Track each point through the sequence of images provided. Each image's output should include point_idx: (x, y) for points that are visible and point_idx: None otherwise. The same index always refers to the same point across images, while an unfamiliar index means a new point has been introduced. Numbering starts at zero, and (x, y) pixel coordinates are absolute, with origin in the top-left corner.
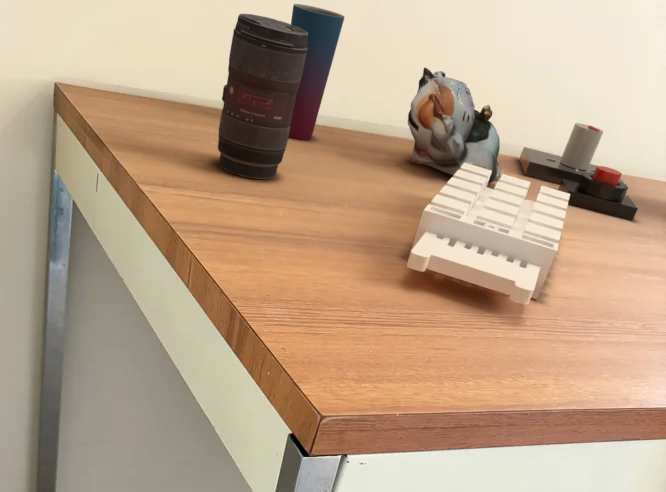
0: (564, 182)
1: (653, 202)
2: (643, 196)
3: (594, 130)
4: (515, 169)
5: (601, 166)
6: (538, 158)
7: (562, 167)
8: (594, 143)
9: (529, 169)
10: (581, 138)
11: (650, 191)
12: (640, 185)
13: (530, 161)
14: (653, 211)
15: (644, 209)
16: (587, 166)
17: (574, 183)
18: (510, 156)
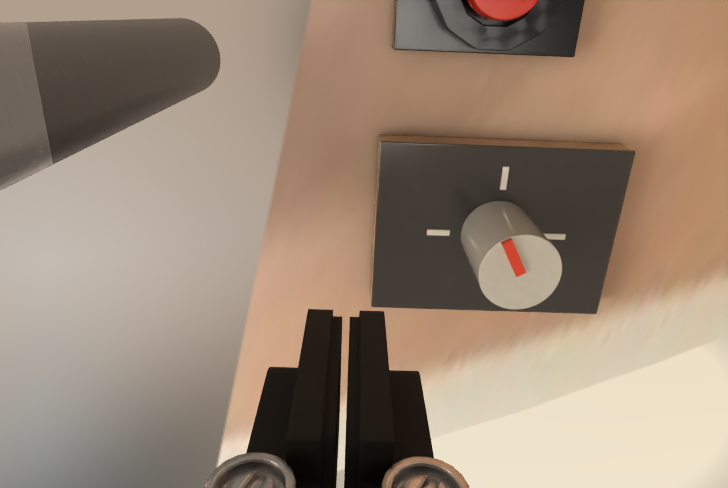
0: (581, 12)
1: (280, 203)
2: (297, 242)
3: (514, 243)
4: (629, 187)
5: (524, 6)
6: (592, 216)
7: (541, 177)
8: (493, 229)
9: (622, 146)
10: (535, 228)
11: (264, 314)
12: (281, 350)
13: (633, 153)
14: (302, 98)
15: (326, 95)
16: (472, 215)
17: (547, 34)
18: (600, 315)
